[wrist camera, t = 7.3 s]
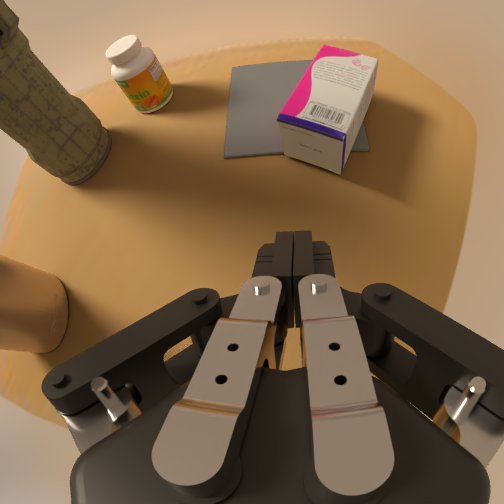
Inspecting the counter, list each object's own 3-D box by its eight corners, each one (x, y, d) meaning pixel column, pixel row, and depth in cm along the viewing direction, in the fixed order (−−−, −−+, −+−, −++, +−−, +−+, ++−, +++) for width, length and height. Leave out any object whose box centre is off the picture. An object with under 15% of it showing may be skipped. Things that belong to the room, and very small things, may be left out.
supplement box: (340, 177, 26) (374, 96, 28) (344, 139, 21) (380, 56, 22) (282, 156, 28) (325, 81, 30) (273, 117, 22) (323, 41, 24)
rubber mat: (224, 158, 29) (223, 156, 29) (232, 69, 33) (232, 67, 33) (369, 151, 27) (369, 149, 26) (346, 61, 31) (346, 59, 30)
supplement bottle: (130, 116, 34) (91, 66, 25) (144, 87, 35) (112, 37, 26) (166, 112, 33) (130, 55, 24) (179, 82, 34) (150, 26, 25)
